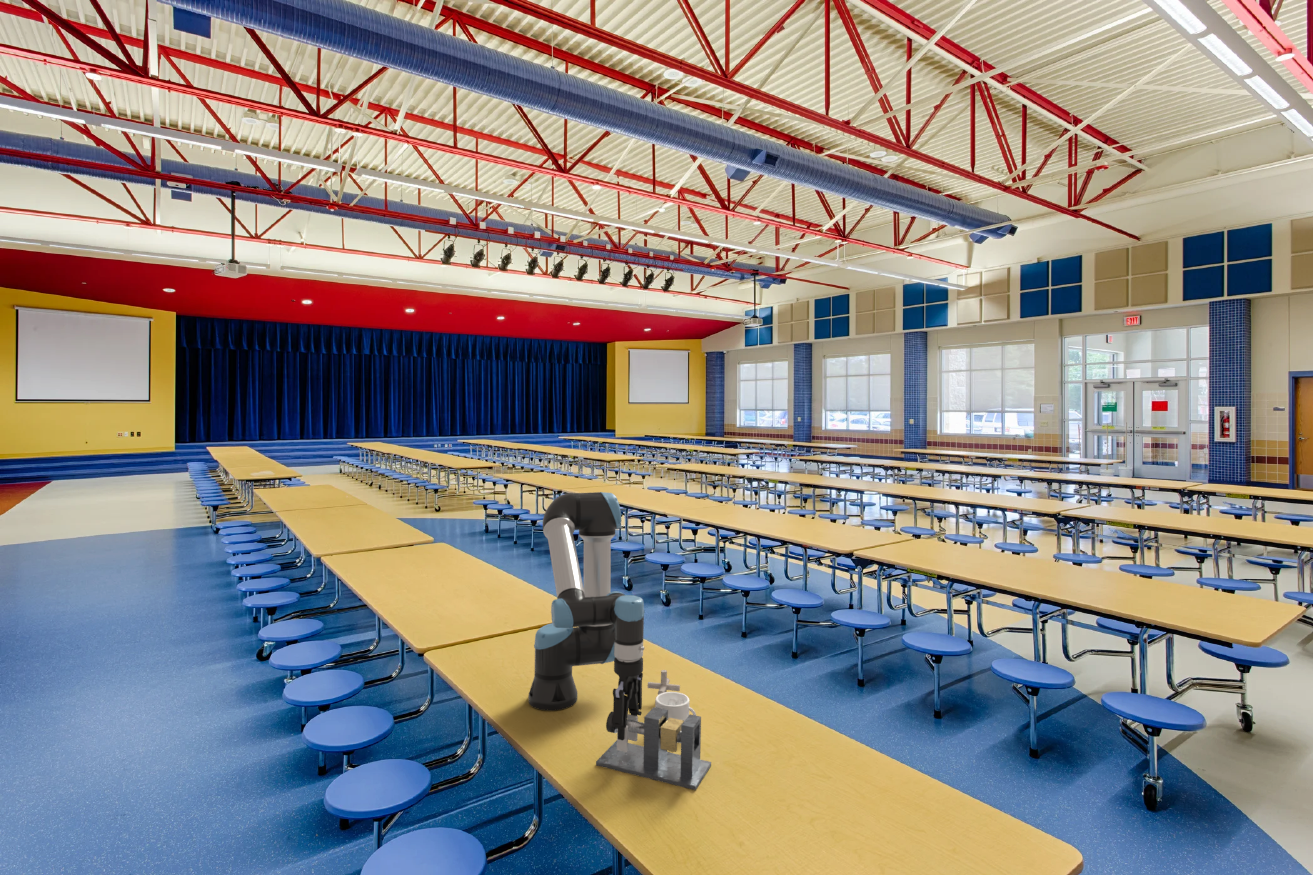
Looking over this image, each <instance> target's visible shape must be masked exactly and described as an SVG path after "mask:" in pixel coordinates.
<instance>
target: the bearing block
mask: <svg viewBox="0 0 1313 875" xmlns="http://www.w3.org/2000/svg"><path fill="white" fill-rule="evenodd" d="M643 718H644V719H643V723H644V735H643V746H642V745H638V744H634V743H630V742H628V751H627V752H623V751H619V750H617V739H616V740H615V742H613V743H612V745H610V746H609V747H608V749H607V750H606V751H604V753H603V754H602V755H601V756H599V758H598V759H597V760H595V766H597V767H602V768H606V769H609V770H612V771H618V772H620V773H621V772H622V773H624V774H629V775H633V776H638V777H641V778H645V779H650V780H653V781H658V782H660V783H665V784H670V785H674V786H677V787H680V788H685V789H688V790H694V791H696V790H697V789H698V787H699V786H700V785H701V782H702V781H703V780H704V778H705V776H706V775H707V773H708V771H709V770H710V768H711V767H712V761H708V760H704V759H701V746H702V745H701V742H702V740H701V737H702V716H700V715H696V716H695V715H693V714H692V713H691V714H690V713H689V716H688V717H687V719H686V720H685V721H684V722H683V724H682V725H681V743H680V754H678V753H675V752H671V751H668V750H663V749H661V739H660V732H661V727H662V726H663V724H664V723H665V722H666V721H667V720H668V710H666V709H661V708H656V707H652V708H651V710H649V711H648V713H647V714H645V716H644V717H643ZM694 734H695V740H694Z"/></svg>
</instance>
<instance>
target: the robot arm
mask: <svg viewBox="0 0 1313 875" xmlns="http://www.w3.org/2000/svg"><path fill="white" fill-rule="evenodd" d="M621 526H622V512H621V507H620V503H619V500H618V498H617V496H616V495H615V494H614V493H612V492H603V491H600V492H599V491H596V492H594V491H593V492H569V493H567V492H566V493H564V494H561V495H560V496H557V497H556V498H555V499H553V501H552V502H550V504H549V506H547V508H546V509H545V512H544V515H543V519H542V532H543V535H544V536H545V538H546V539H547V541H548V548H549V554H550V561H551V567H552V568H551V569H552V574H553V580H554V581H553V582H554V585H555V586H554V587H555V593H556V599H553V600H552V601H551V606H550V608H551V611H550V613H551V614H550V615H551V623H547V624H546V625H543V626H542V627H540V628H538V629H537V631H536V633H535V636H534V645H533V646H534V677H533V680H532V682H531V686H530V688H529V691H528V704H529V705H530V707H532V708H534V709H536V710H541V711H548V712H549V711H550V712H551V711H559V710H560V711H561V710H564V709H568V708H570V707H572V706H574V705H575V704H576V703H577V701H578V690H577V686H576V683H575V680H574V677H573V667H578V666H579V667H580V666H589V665H598V664H599V665H603V664H609V663H613V662H614V663H613V671H614V673H615V674H616V675H617V676H618V683H617V688H613V690H612V695H613V704H612V706H613V709H612V711H613V727H617V733H616V736H617V738H616V740H617V750H619V751H623V752H627V751H628V743H629V741H632V742H637V741H638V737H639V736H638V734H637V733H633V732H629V731H628V726H626V725H627V719H629V720H633V721H638V722H639V716H641V715H642V714H643V711H641V710H642V708H643V677H644V673H643V671H644V658H643V656H644V650H645V646H644V631H645V630H644V624H645V622H644V620H645V618H644V617H645V613H646V612H645V611H646V610H645V606H644V605H645V604H644V599H643V598H642V597H640V596H637V595H633V594H629V595H626V594H625V593H623V592H621V591H615V590H614V591H612V590H611V586H612V585H611V582H612V581H611V580H612V579H611V574H612V573H611V570H612V569H611V567H612V565H611V558H612V557H611V556H612V555H611V552H612V551H611V550H612V549H611V548H612V547H611V545H612V544H611V540H612V539H613V538H614V537H615V536H616V530H618V529H620V527H621ZM575 531H578V536H579V537H580V538H581V539H582V540H583V579H582V574H581V568H580V564H579V559H578V557H579V556H578V554H577V547H576V543H575V538H574V532H575Z"/></svg>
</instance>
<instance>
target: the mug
mask: <svg viewBox="0 0 1313 875" xmlns="http://www.w3.org/2000/svg"><path fill="white" fill-rule="evenodd" d="M654 705H655V707H656V708H661V709H666V710H668V719H669V718H674V719H679V720H684V721H685V720H686V719H687V717H688V716H689V715H690V712H691V714H692V715H695V716H697V714H696V711H695V710H694V708H692V707H690V697H689V696H688V695H686V694H685V693H682V692H679V691H667V692H665V693H661V694H659V695H658V694H657V696H656V697H655V704H654Z"/></svg>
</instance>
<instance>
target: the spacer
mask: <svg viewBox="0 0 1313 875" xmlns="http://www.w3.org/2000/svg"><path fill="white" fill-rule="evenodd" d="M683 722H684V720H679V719H674V718H669V719H668V720H667V721H666V722H665V723H664V724H663V726H662V727H661V749H663V750H667V752H671V753H677V750H678V742H677V734H678V733H679V732H680V731H681V725H682V724H683Z"/></svg>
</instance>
